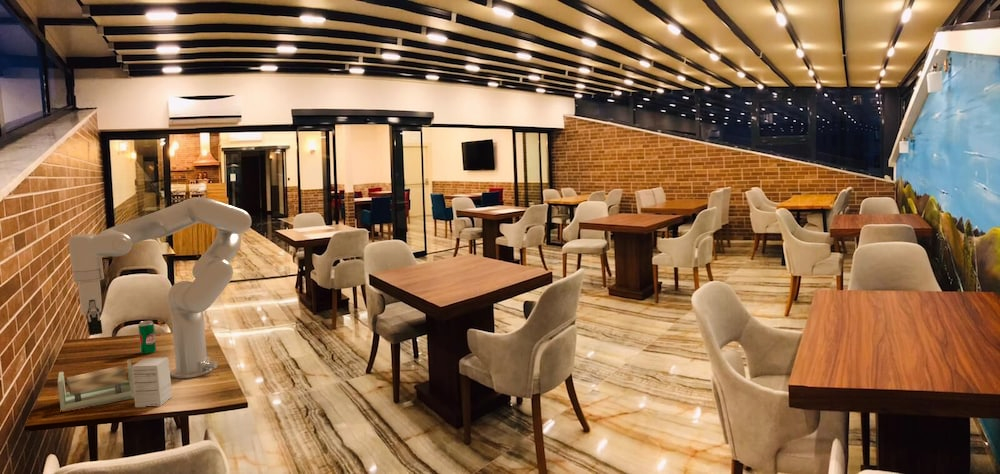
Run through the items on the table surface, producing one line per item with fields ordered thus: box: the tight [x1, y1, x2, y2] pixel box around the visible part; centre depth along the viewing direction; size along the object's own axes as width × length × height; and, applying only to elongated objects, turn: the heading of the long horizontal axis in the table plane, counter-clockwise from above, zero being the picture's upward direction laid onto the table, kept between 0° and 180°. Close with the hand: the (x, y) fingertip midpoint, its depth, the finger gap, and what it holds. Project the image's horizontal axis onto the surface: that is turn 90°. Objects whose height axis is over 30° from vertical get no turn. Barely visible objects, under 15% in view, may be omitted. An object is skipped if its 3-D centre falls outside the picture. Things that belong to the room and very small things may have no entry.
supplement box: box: [131, 356, 173, 408], centre depth 167 cm, size 7×7×13 cm
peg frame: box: [57, 359, 134, 411], centre depth 170 cm, size 18×12×9 cm, turn 126°
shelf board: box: [66, 365, 128, 395], centre depth 170 cm, size 14×5×4 cm, turn 136°
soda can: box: [137, 320, 157, 355], centre depth 215 cm, size 5×5×12 cm
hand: (95, 330), depth 171 cm, fingers open, 9 cm apart
